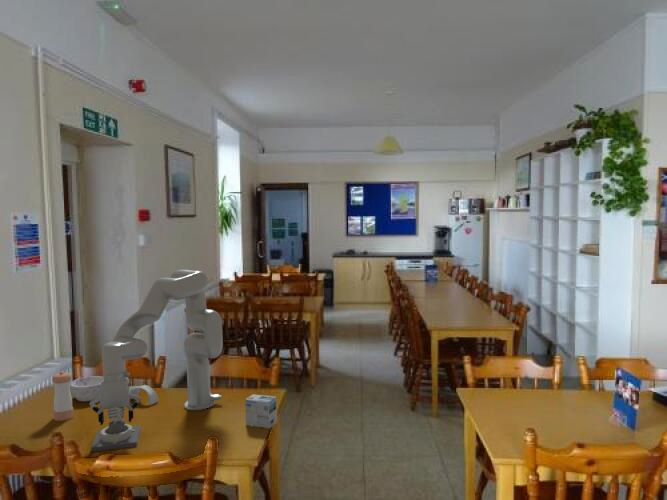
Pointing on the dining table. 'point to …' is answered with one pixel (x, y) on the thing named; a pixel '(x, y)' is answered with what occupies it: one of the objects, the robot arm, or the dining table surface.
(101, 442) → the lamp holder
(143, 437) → the dining table surface
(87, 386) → the marbled white bowl
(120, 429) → the light bulb
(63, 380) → the salt shaker
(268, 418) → the light bulb box
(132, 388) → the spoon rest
